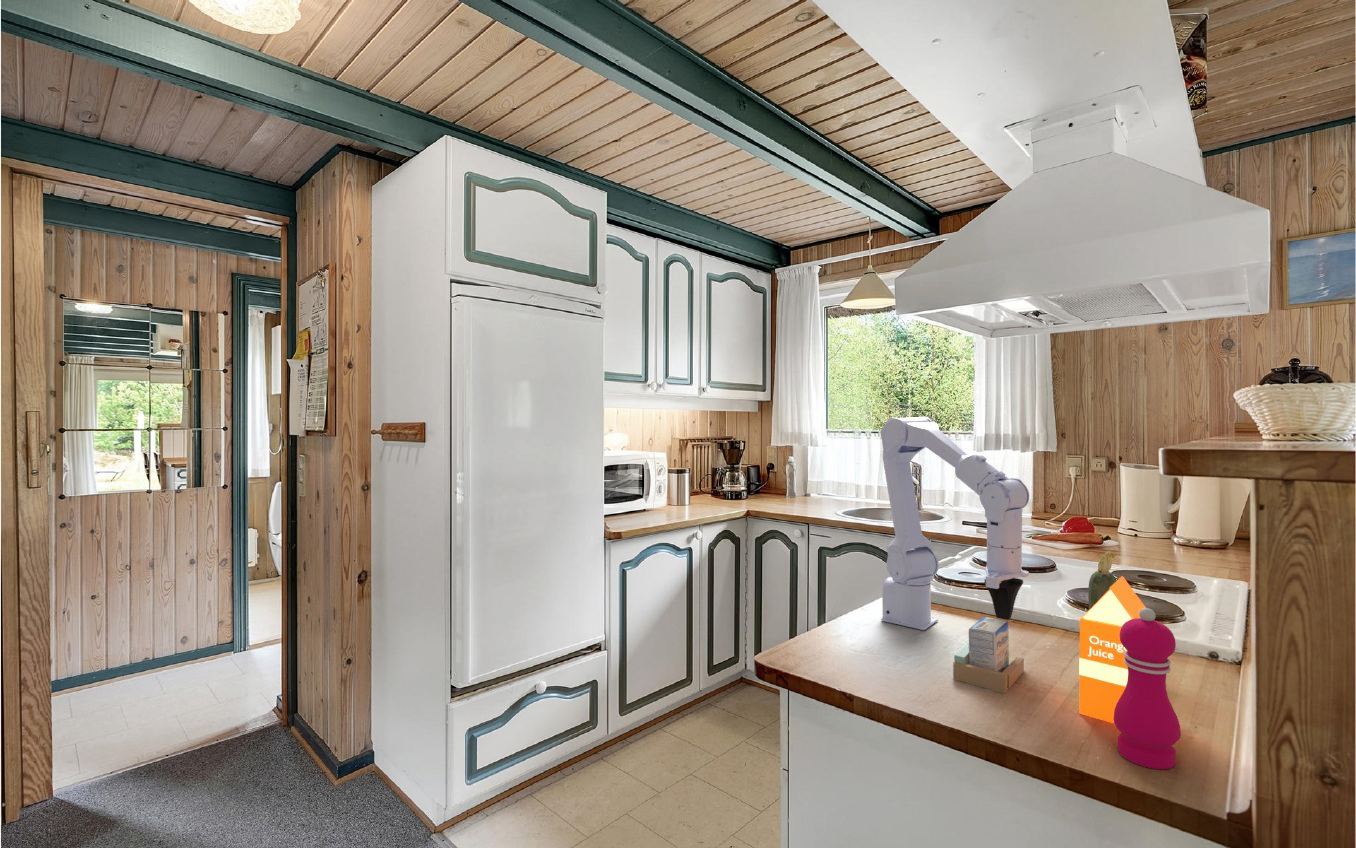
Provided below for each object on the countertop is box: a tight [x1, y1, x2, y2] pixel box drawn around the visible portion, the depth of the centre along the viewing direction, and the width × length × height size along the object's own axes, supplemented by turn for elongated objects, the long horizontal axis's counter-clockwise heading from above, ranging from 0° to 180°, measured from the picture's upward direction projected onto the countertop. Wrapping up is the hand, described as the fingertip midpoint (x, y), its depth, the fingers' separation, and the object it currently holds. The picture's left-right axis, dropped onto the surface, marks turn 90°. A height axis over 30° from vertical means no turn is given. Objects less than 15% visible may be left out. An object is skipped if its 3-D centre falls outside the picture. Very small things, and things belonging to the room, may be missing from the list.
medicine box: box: [968, 616, 1010, 672], centre depth 112 cm, size 8×4×9 cm, turn 138°
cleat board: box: [952, 642, 1025, 694], centre depth 114 cm, size 8×21×4 cm, turn 138°
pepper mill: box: [1113, 607, 1182, 770], centre depth 85 cm, size 7×7×20 cm
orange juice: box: [1078, 575, 1147, 724], centre depth 97 cm, size 8×9×20 cm
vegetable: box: [1088, 549, 1118, 611], centre depth 117 cm, size 4×4×20 cm
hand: (1003, 618), depth 118 cm, fingers closed
